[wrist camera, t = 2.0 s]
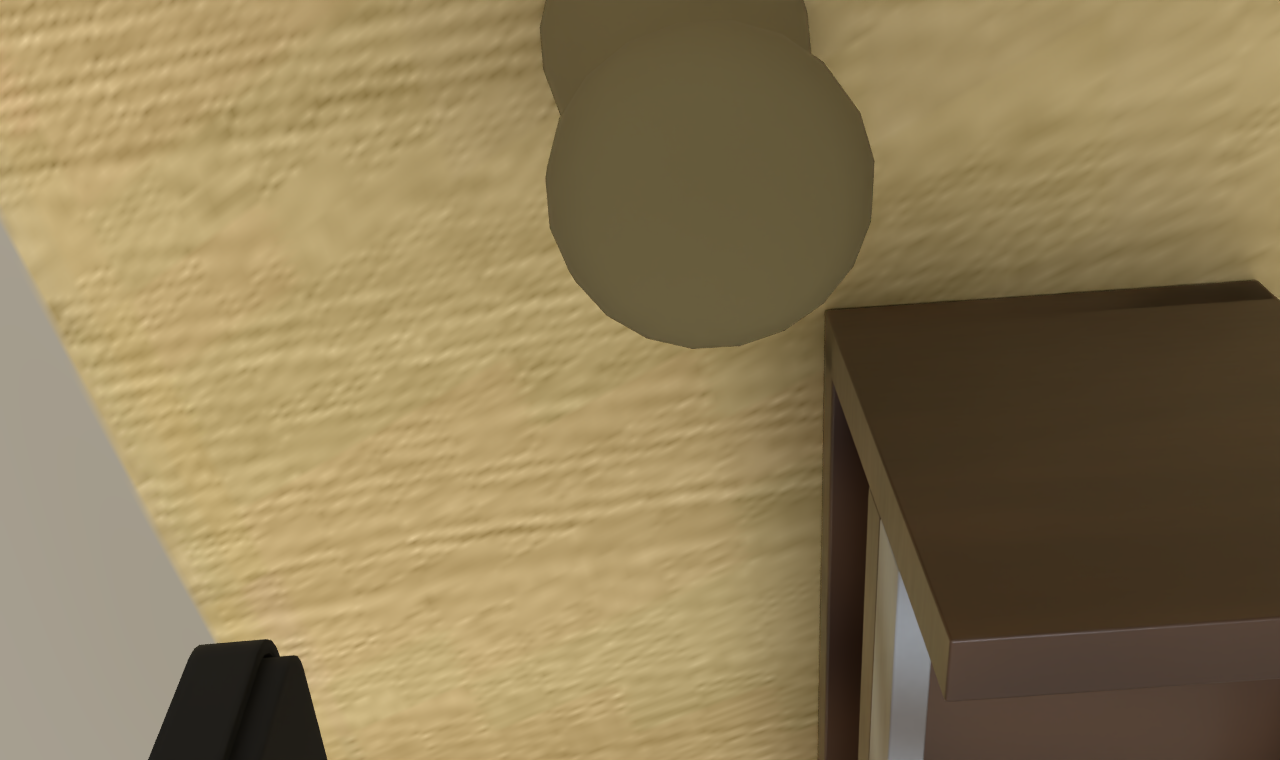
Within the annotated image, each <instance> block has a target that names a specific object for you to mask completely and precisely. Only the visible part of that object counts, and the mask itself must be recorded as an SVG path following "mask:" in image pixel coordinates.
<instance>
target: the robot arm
mask: <svg viewBox="0 0 1280 760" xmlns="http://www.w3.org/2000/svg"><path fill="white" fill-rule="evenodd" d="M148 760H327V757H326V753H325V749H324V745H323V741H322V737H321V734H320V730H319V726H318V722H317V718H316V715H315V711H314V707H313V703H312V699H311V695H310V692H309V688H308V684H307V680H306V676H305V673H304V669H303V666H302V663H301V661H300V659H299V658H298V656H294V655H293V656H281V657H280V656H279V653H278V650H277V648H276V646H275V645H274V643H273V642H272V641H271V640H267V639H264V640H253V641H241V642H229V643H217V644H205V645H199V646H198V647H196V648H195V649H194V651H193V652H192V654H191V655H190V657H189V659H188V662H187V664H186V667H185V669H184V672H183V674H182V677H181V679H180V682H179V684H178V687H177V689H176V692H175V694H174V697H173V699H172V702H171V704H170V707H169V709H168V712H167V714H166V717H165V719H164V722H163V724H162V727H161V729H160V732H159V734H158V737H157V739H156V742H155V744H154V747H153V749H152V752H151V754H150V757H149V759H148Z"/></svg>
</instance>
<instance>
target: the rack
mask: <svg viewBox="0 0 1280 760" xmlns="http://www.w3.org/2000/svg"><path fill="white" fill-rule="evenodd" d="M824 358H825V360H824V418H823V477H822V535H821V593H820V651H819V709H818V760H1280V300H1279V299H1277V298H1276V297H1275V296H1274V295H1273V294H1272V293H1271V292H1270V291H1268V290H1267V289H1266V288H1265V287H1264V286H1263V285H1262V284H1261V283H1259V282H1258V281H1242V282H1227V283H1213V284H1198V285H1184V286H1170V287H1155V288H1141V289H1126V290H1112V291H1098V292H1083V293H1069V294H1054V295H1040V296H1025V297H1011V298H997V299H982V300H968V301H953V302H939V303H925V304H910V305H896V306H881V307H867V308H853V309H838V310H826V311H825V345H824Z"/></svg>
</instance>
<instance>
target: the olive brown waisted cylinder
mask: <svg viewBox="0 0 1280 760" xmlns="http://www.w3.org/2000/svg"><path fill="white" fill-rule="evenodd" d="M540 34H541V46H542V58H543V70H544V72H545V75H546V78H547V80H548V83H549V86H550V88H551V91H552V94H553V96H554V99H555V102H556V104H557V107H558V109H559V112H560V115H561V117H560V118H559V121H558V125H557V129H556V133H555V137H554V141H553V145H552V149H551V153H550V158H549V162H548V166H547V172H546V190H547V201H548V213H549V224H550V229H551V232H552V234H553V236H554V238H555V241H556V243H557V245H558V247H559V250H560V252H561V254H562V256H563V258H564V261H565V263H566V265H567V267H568V270H569V272H570V273H571V275H572V276H573V278H574V280H575V281H576V283H577V284H578V285H579V286H580V287H581V288H582V289H583V290H584V291H585V292H586V293H587V294H588V296H589V297H590V298H591V299H592V300H593V301H594V302H595V303H596V304H597V305H598V306H599V308H600V309H601V310H602V311H603V312H604V313H605V314H606V315H607V316H609V317H610V318H612V319H614V320H616V321H617V322H619V323H621V324H623V325H624V326H626V327H628V328H630V329H631V330H633V331H635V332H637V333H638V334H640V335H642V336H644V337H645V338H648V339H652V340H656V341H661V342H665V343H670V344H674V345H678V346H683V347H687V348H691V349H696V348H714V347H731V346H741V345H744V344H747V343H750V342H753V341H756V340H759V339H761V338H764V337H767V336H770V335H773V334H776V333H779V332H782V331H785V330H786V329H787V328H789V327H790V326H792V325H793V324H795V323H796V322H797V321H799V320H800V319H802V318H803V317H805V316H806V315H808V314H809V313H810V312H812V311H813V310H815V309H816V308H818V307H819V306H820V305H822V304H823V303H824V302H825V301H826V300H827V298H828V297H829V296H830V295H831V293H832V292H833V291H834V290H835V288H836V287H837V286H838V285H839V283H840V282H841V281H842V280H843V278H844V277H845V276H846V275H847V273H848V272H849V271H850V270H851V269H852V267H853V266H854V263H855V261H856V258H857V256H858V253H859V251H860V248H861V245H862V243H863V240H864V238H865V235H866V233H867V230H868V228H869V225H870V222H871V214H872V198H873V178H874V158H873V154H872V151H871V148H870V144H869V141H868V137H867V134H866V131H865V127H864V124H863V120H862V117H861V114H860V112H859V111H858V109H857V108H856V106H855V105H854V103H853V102H852V101H851V99H850V98H849V97H848V95H847V94H846V92H845V91H844V90H843V88H842V87H841V86H840V84H839V83H838V81H837V80H836V79H835V77H834V76H833V75H832V73H831V72H830V70H829V69H828V68H827V66H826V65H825V64H824V62H822V61H821V60H819V59H818V58H817V57H815V56H814V55H812V54H811V46H810V36H809V26H808V17H807V11H806V8H805V4H804V1H803V0H546V4H545V8H544V12H543V17H542V21H541V25H540Z"/></svg>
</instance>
